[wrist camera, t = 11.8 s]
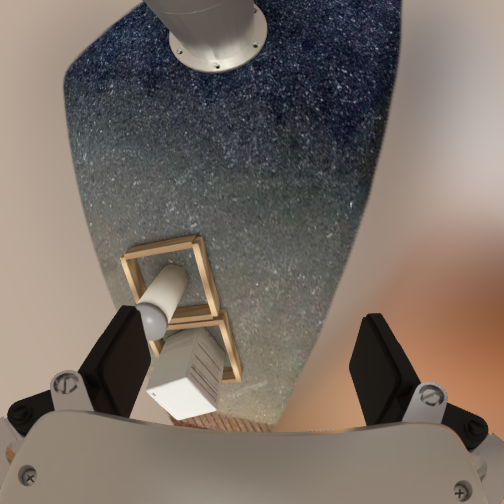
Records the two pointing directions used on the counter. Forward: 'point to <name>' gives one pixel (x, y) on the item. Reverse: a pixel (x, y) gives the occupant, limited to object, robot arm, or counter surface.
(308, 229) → the counter surface
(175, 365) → the supplement box
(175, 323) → the oak rack
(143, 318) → the frosted tube
